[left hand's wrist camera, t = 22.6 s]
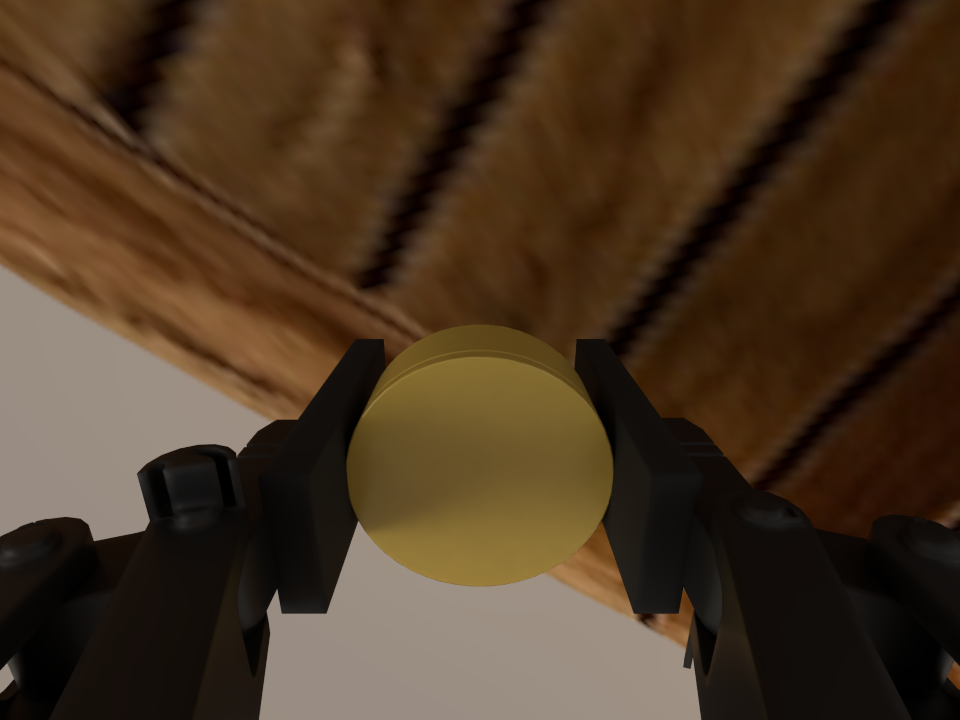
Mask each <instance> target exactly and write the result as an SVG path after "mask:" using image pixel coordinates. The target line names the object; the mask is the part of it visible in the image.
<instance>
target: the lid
mask: <svg viewBox="0 0 960 720" xmlns="http://www.w3.org/2000/svg"><path fill="white" fill-rule="evenodd" d="M346 470H347V481H348V490H349V498H350V502H351V505H352V507H353V510H354V512H355V514H356V517H357V519H358V520H359V522H360V524H361V525H362V527H363V529H364V530H365V532H366V533H367V534H368V535H369V537H370V538H371V539H372V540H373V542H374V543H375V544H376V545H377V546H378V547H379V548H380V549H381V550H383V551H384V552H385V553H386V554H387V555H388V556H390V557H391V558H392V559H394V560H395V561H396V562H398V563H399V564H401V565H403V566H405V567H406V568H408V569H410V570H412V571H414V572H416V573H418V574H421V575H423V576H425V577H428V578H431V579H434V580H438V581H441V582H445V583H450V584H455V585H464V586H496V585H505V584H510V583H514V582H519V581H522V580H526V579H529V578H532V577H535V576H537V575H539V574H542V573H544V572H546V571H548V570H550V569H552V568H554V567H555V566H557V565H559V564H560V563H562V562H563V561H565V560H566V559H567V558H569V557H570V556H571V555H573V554H574V553H575V552H576V551H577V550H578V549H579V548H580V547H581V546H583V545H584V544H585V543H586V541H587V540H588V539H589V538H590V536H591V535H592V534H593V533H594V531H595V530H596V528H597V527H598V525H599V523H600V522H601V520H602V518H603V516H604V514H605V512H606V509H607V507H608V505H609V501H610V497H611V492H612V483H613V474H614V458H613V453H612V448H611V444H610V441H609V438H608V436H607V433H606V430H605V428H604V426H603V424H602V422H601V419H600V417H599V415H598V413H597V411H596V409H595V407H594V405H593V403H592V400H591V398H590V396H589V394H588V392H587V390H586V388H585V386H584V384H583V382H582V381H581V379H580V377H579V375H578V374H577V372H576V371H575V370H574V368H573V367H572V366H571V364H570V363H569V362H568V361H567V360H566V359H565V358H564V357H563V356H562V355H561V354H560V353H559V352H557V351H556V350H555V349H553V348H552V347H551V346H549V345H548V344H546V343H545V342H543V341H541V340H539V339H537V338H536V337H534V336H531V335H529V334H526V333H524V332H521V331H519V330H515V329H511V328H507V327H503V326H495V325H465V326H457V327H453V328H449V329H445V330H441V331H438V332H436V333H433V334H431V335H428V336H426V337H424V338H422V339H421V340H419V341H417V342H415V343H413V344H412V345H411V346H409V347H408V348H407V349H405V350H404V351H403V352H401V353H400V354H399V355H398V356H397V357H396V358H395V359H394V360H393V361H392V362H391V363H390V364H389V366H388V367H387V368H386V370H385V371H384V372H383V374H382V375H381V377H380V378H379V380H378V382H377V384H376V386H375V388H374V390H373V392H372V394H371V396H370V398H369V400H368V402H367V404H366V406H365V408H364V411H363V413H362V415H361V417H360V419H359V421H358V423H357V425H356V427H355V430H354V432H353V435H352V438H351V440H350V443H349V447H348V452H347V457H346Z"/></svg>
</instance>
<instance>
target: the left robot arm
mask: <svg viewBox="0 0 960 720" xmlns="http://www.w3.org/2000/svg"><path fill="white" fill-rule="evenodd" d="M385 370H386V366H385V352H384V339H356V340H355V341H354V342H353V344H352V345H351V346H350V348H349V349H348V351H347V352H346V353H345V355H344V356H343V358H342V359H341V360H340V362H339V363H338V365H337V366H336V367H335V369H334V370H333V372H332V373H331V374H330V376H329V377H328V378H327V380H326V381H325V383H324V384H323V385H322V387H321V388H320V390H319V391H318V392H317V394H316V395H315V397H314V398H313V399H312V401H311V402H310V404H309V405H308V406H307V408H306V409H305V410H304V412H303V413H302V415H301V416H300V417H299V419H298V420H276V421H274V422H272V423H271V424H269V425H267V426H266V427H264V428H262V429H261V430H259V431H258V432H257V433H256V434H255V435H254V436H253V438H252V439H251V440H250V441H249V442H248V444H247V447H244V448H243V450H242V451H241V452H240V453H239V454H238V456H237V457H236V452H234V451H233V450H232V449H230V448H229V447H226V446H221V445H216V444H208V445H195V446H190V447H185V448H180V449H177V450H175V451H172V452H169V453H166V454H164V455H161V456H159V457H158V458H156V459H154V460H152V461H151V462H149V463H147V464H146V465H145V466H144V467H143V468H142V469H141V470H140V471H139V472H138V473H137V476H138V479H139V483H140V486H141V490H142V493H143V497H144V501H145V504H146V508H147V512H148V515H149V519H150V522H149V524H148V526H147V528H146V530H145V531H142V532H138V533H134V534H129V535H124V536H118V537H114V538H109V539H104V540H99V541H94V540H93V537H92V534H91V531H90V528H89V525H88V524H87V523H85V522H84V521H83V520H81V519H78V518H70V517H61V518H53V519H44V520H40V521H36V522H35V523H33V522H32V523H29V524H26V525H23V526H21V527H19V528H18V529H16V530H14V531H11V532H9V533H7V534H5V535H2V536H1V537H0V670H1V669H2V668H3V667H4V666H5V665H6V664H8V666H9V668H10V670H11V673H12V675H13V677H14V680H13V681H12V682H11V683H10V684H9V686H8V687H7V688H6V689H5V690H4V691H3V692H1V693H0V720H259V714H260V707H261V699H262V691H263V684H264V676H265V669H266V661H267V653H268V645H269V638H270V629H269V622H268V616H267V609H268V607H269V605H270V602H271V600H272V598H273V596H274V594H275V592H276V590H278V595H279V601H280V606H281V612H282V614H326V613H327V610H328V607H329V604H330V601H331V598H332V596H333V593H334V590H335V587H336V584H337V581H338V578H339V575H340V572H341V569H342V566H343V564H344V561H345V558H346V555H347V552H348V549H349V546H350V543H351V540H352V537H353V535H354V532H355V529H356V526H357V523H358V519H357V517H356V514H355V512H354V510H353V507H352V505H351V502H350V498H349V490H348V481H347V470H346V457H347V452H348V447H349V443H350V440H351V438H352V435H353V432H354V430H355V427H356V425H357V423H358V421H359V419H360V417H361V415H362V413H363V411H364V408H365V406H366V404H367V402H368V400H369V398H370V396H371V394H372V392H373V390H374V388H375V386H376V384H377V382H378V380H379V378H380V377H381V375H382V374H383V372H384V371H385ZM575 371H576V372H577V374H578V375H579V377H580V379H581V381H582V382H583V384H584V386H585V388H586V390H587V392H588V394H589V396H590V398H591V400H592V403H593V405H594V407H595V409H596V411H597V413H598V415H599V417H600V419H601V422H602V424H603V426H604V428H605V430H606V433H607V436H608V438H609V441H610V444H611V448H612V453H613V458H614V474H613V483H612V492H611V497H610V501H609V505H608V507H607V509H606V512H605V514H604V516H603V518H602V522H603V525H604V528H605V531H606V534H607V537H608V539H609V542H610V545H611V548H612V551H613V554H614V557H615V560H616V563H617V566H618V569H619V571H620V574H621V577H622V580H623V583H624V586H625V589H626V592H627V595H628V598H629V601H630V603H631V606H632V609H633V612H634V614H679V608H680V603H681V597H682V591H683V587H684V589H685V591H686V593H687V595H688V597H689V599H690V601H691V603H692V605H693V607H694V611H693V616H692V622H691V627H690V632H689V637H688V642H687V647H686V652H685V658H684V666H683V667H685V668H689V669H690V668H691V664H692V659H693V660H694V667H695V675H696V683H697V690H698V698H699V705H700V713H701V720H960V690H959V689H958V688H956V686H955V685H954V684H953V683H952V682H951V681H950V680H949V679H948V677H947V676H948V674H949V671H950V669H951V667H952V665H953V663H954V660H955V661H956V662H957V663H958V664H959V666H960V533H958V532H956V531H953V530H951V529H949V528H947V527H944V526H943V525H942V524H939V523H937V522H934V521H931V520H928V521H927V520H926V519H924V518H919V517H911V516H903V515H888V516H881V517H879V518H878V519H877V520H875V521H874V522H873V523H872V526H871V530H870V533H869V536H868V539H864V538H859V537H854V536H849V535H844V534H839V533H834V532H828V531H824V530H820V529H816V528H814V527H813V525H812V523H811V521H810V520H809V518H808V517H807V516H806V515H805V514H804V512H803V511H802V510H801V509H800V508H798V507H797V506H795V505H794V504H792V503H791V502H789V501H788V500H786V499H784V498H781V497H779V496H777V495H774V494H772V493H769V492H765V491H761V490H757V489H753V488H752V487H751V486H750V485H749V484H748V482H747V481H746V480H745V479H744V478H743V476H742V475H741V474H740V473H739V472H738V471H737V469H736V468H735V467H734V466H733V465H732V463H731V462H730V461H729V460H728V459H727V458H726V457H724V456H723V453H722V452H721V450H720V449H719V448H718V447H717V446H716V445H714V442H713V441H712V440H711V439H710V437H709V436H708V435H707V434H706V433H705V431H704V430H703V429H701V428H699V427H698V426H696V425H694V424H693V423H691V422H689V421H688V420H686V419H684V418H661V417H660V416H659V414H658V413H657V411H656V410H655V409H654V407H653V406H652V404H651V403H650V402H649V400H648V399H647V397H646V396H645V395H644V393H643V392H642V391H641V389H640V388H639V386H638V385H637V384H636V382H635V381H634V379H633V378H632V377H631V375H630V374H629V372H628V371H627V370H626V368H625V367H624V365H623V364H622V363H621V361H620V360H619V359H618V357H617V356H616V354H615V353H614V352H613V350H612V349H611V347H610V346H609V345H608V343H607V342H606V340H605V339H577V342H576V356H575Z"/></svg>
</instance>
